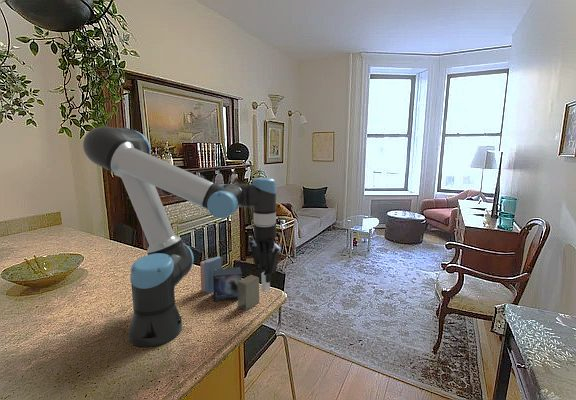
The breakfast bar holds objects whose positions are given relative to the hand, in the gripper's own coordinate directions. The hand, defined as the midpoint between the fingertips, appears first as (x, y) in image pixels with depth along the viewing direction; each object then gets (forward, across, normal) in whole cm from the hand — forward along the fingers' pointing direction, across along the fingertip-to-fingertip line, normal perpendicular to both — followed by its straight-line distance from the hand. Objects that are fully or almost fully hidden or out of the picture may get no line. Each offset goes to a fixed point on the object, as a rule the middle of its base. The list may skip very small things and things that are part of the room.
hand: (265, 289), depth 103 cm
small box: (+8, +19, 0) cm, 21 cm away
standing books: (+8, +28, 0) cm, 29 cm away
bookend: (+8, +8, 0) cm, 11 cm away
